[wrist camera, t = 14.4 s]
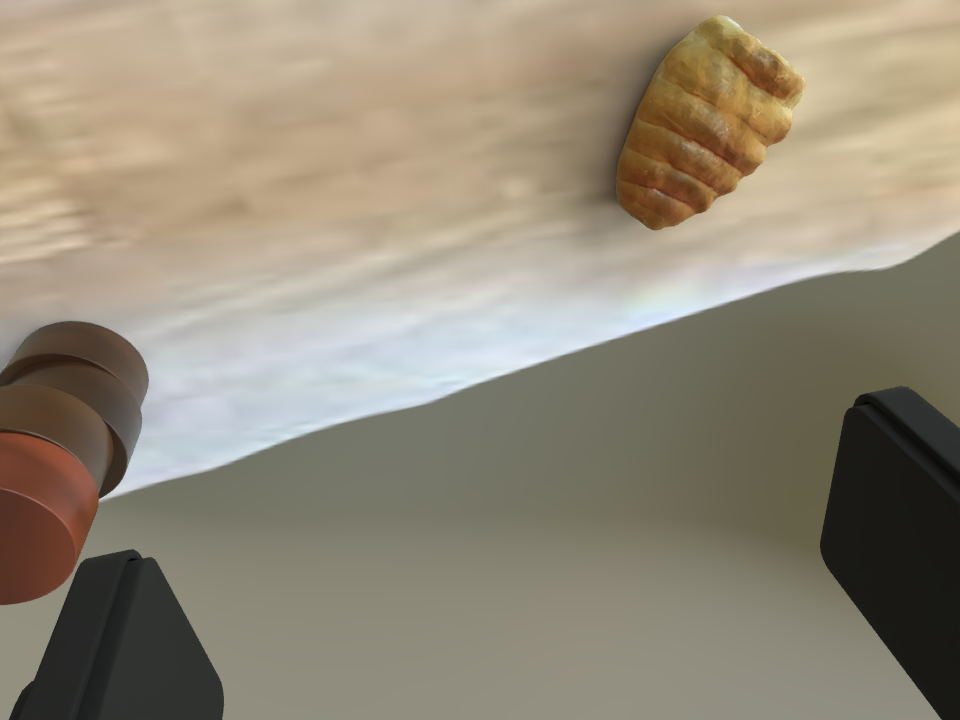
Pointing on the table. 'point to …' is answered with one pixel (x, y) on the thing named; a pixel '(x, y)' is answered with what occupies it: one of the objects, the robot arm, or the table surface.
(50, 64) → the table surface
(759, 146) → the pastry
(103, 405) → the stacked discs
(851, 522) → the robot arm
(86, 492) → the reddish-brown squat cylinder
